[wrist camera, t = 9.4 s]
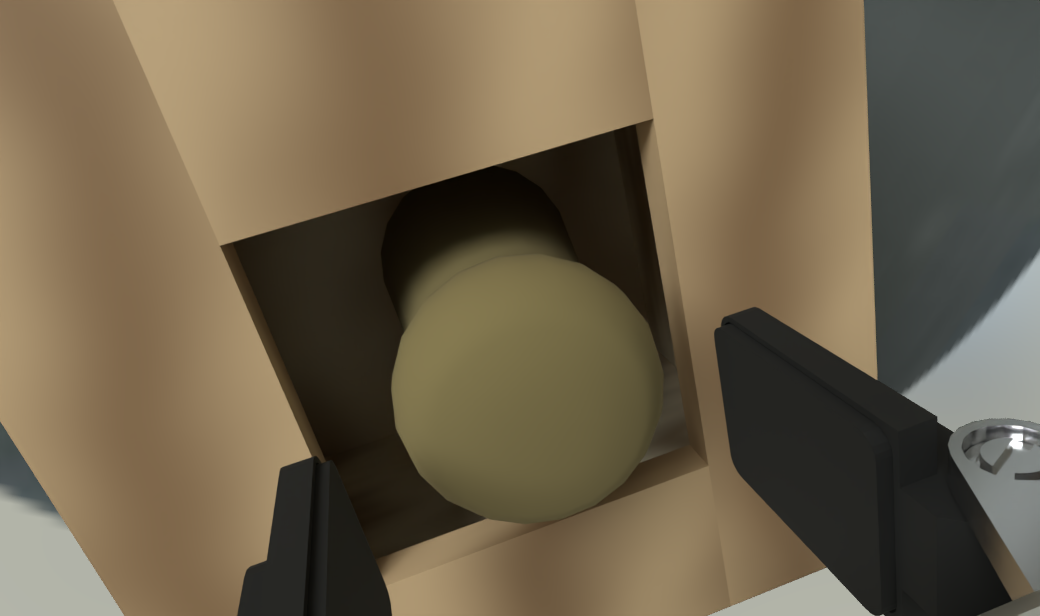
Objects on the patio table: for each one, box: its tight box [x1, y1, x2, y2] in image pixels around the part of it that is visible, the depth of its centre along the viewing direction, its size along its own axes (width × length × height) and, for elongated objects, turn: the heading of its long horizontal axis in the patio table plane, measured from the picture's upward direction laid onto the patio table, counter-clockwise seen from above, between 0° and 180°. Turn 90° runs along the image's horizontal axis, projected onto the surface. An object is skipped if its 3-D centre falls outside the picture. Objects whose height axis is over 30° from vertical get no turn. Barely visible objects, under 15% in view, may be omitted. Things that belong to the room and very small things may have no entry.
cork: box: [381, 165, 664, 524], centre depth 17 cm, size 6×6×11 cm
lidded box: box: [0, 0, 877, 616], centre depth 21 cm, size 18×18×14 cm
